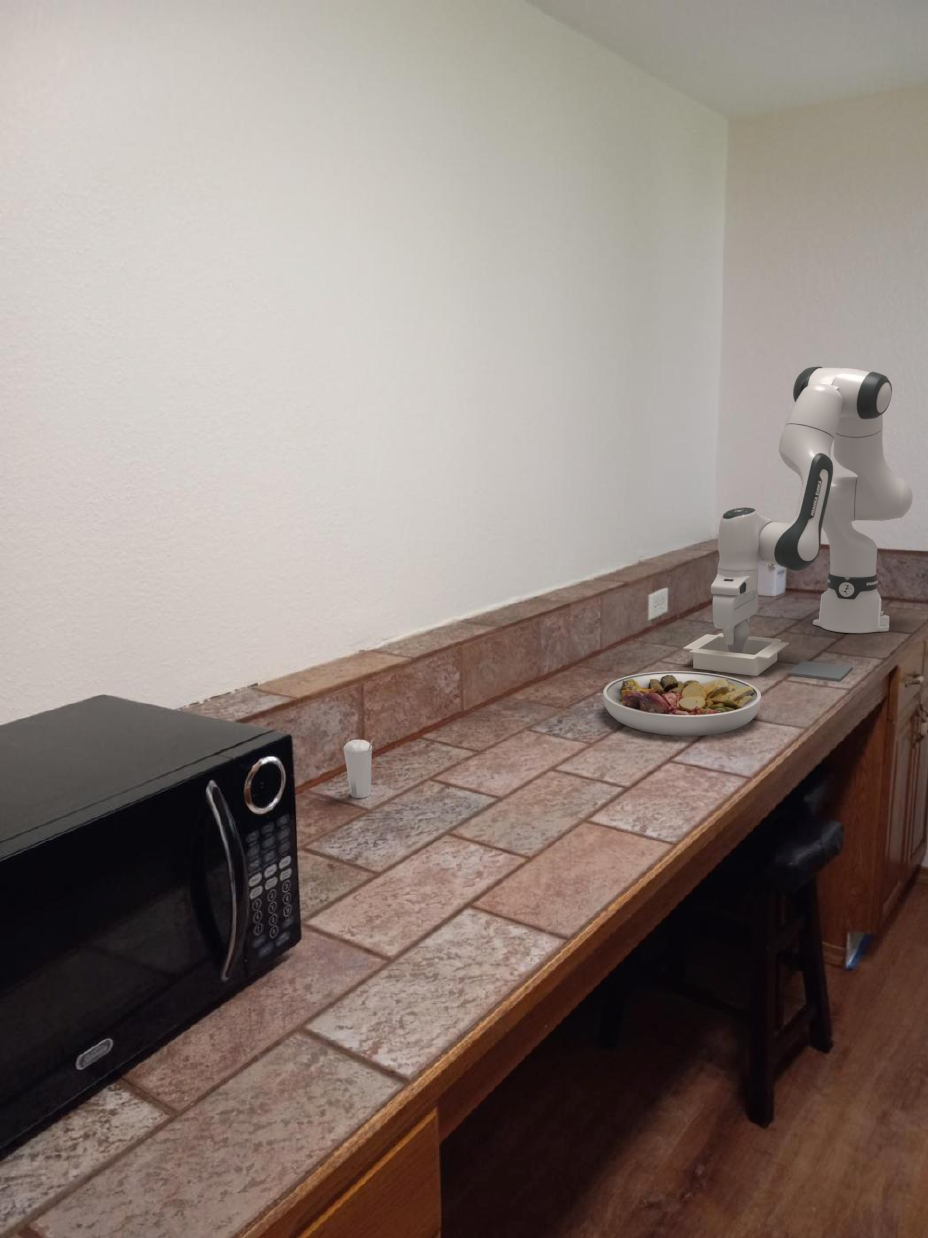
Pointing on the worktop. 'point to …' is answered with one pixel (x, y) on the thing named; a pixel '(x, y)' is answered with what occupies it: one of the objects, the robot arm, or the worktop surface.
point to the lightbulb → (739, 637)
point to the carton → (734, 654)
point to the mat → (820, 670)
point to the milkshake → (359, 767)
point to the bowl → (682, 702)
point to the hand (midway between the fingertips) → (736, 640)
